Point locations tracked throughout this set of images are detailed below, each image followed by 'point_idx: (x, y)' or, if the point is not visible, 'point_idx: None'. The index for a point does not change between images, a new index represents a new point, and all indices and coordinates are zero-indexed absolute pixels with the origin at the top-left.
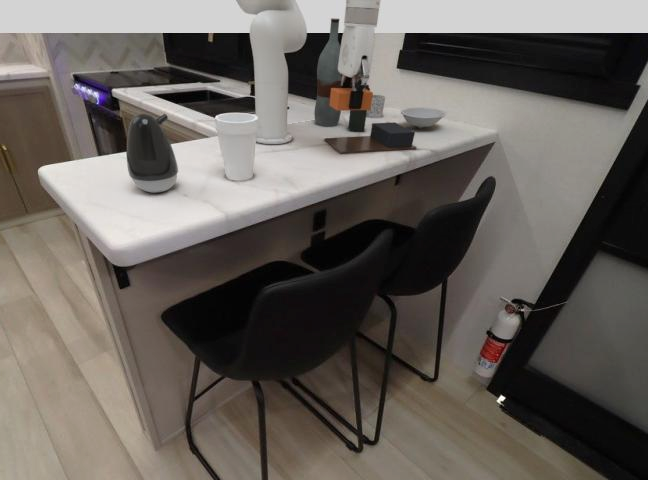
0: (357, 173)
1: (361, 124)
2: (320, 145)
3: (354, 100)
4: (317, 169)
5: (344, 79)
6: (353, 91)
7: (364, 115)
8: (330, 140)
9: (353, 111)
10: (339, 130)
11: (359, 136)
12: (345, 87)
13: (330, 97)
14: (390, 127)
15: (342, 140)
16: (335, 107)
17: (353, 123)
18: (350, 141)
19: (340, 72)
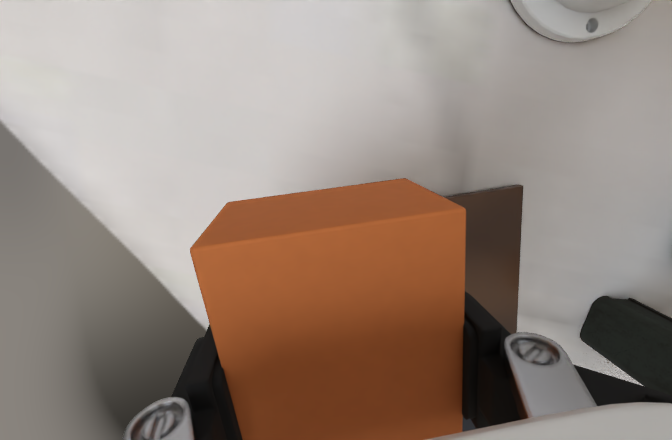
0: (120, 225)
1: (604, 345)
2: (456, 154)
3: (189, 357)
4: (151, 76)
5: (518, 398)
6: (192, 399)
7: (634, 374)
8: (489, 202)
9: (669, 343)
10: (619, 264)
11: (516, 315)
12: (465, 356)
13: (419, 190)
14: (470, 428)
15: (481, 247)
16: (267, 198)
17: (618, 321)
18: (465, 273)
19: (544, 419)
